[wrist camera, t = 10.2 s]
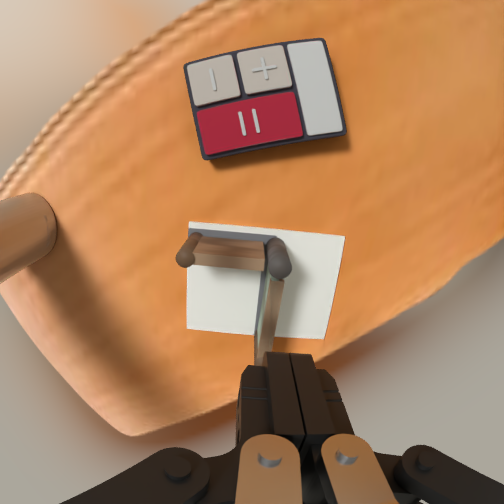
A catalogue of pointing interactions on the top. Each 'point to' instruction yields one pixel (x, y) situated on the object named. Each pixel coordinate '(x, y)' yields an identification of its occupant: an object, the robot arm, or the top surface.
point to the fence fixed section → (235, 254)
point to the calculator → (264, 97)
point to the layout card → (252, 284)
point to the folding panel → (268, 317)
